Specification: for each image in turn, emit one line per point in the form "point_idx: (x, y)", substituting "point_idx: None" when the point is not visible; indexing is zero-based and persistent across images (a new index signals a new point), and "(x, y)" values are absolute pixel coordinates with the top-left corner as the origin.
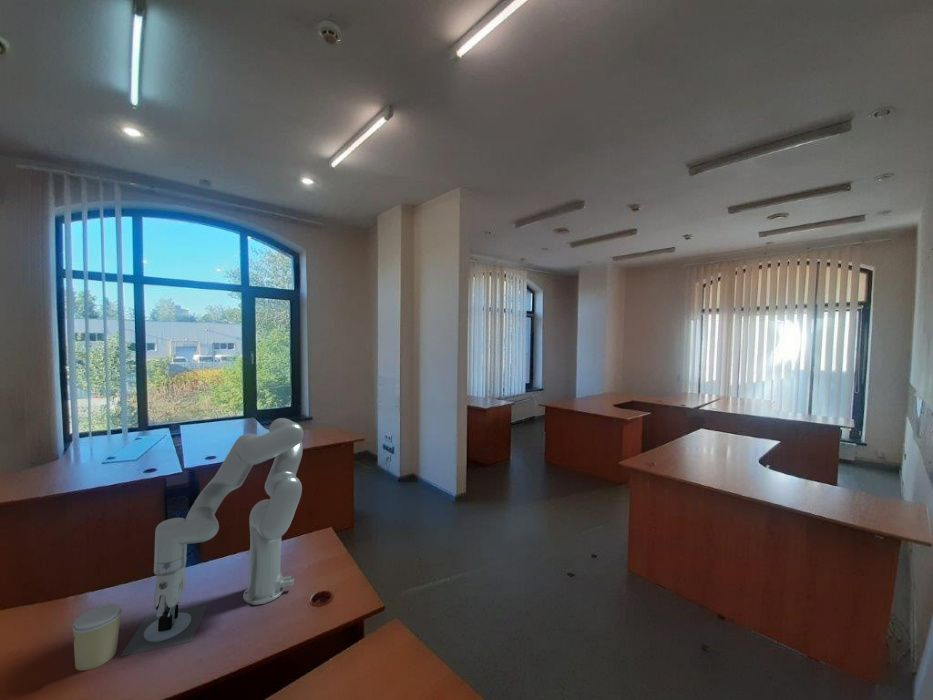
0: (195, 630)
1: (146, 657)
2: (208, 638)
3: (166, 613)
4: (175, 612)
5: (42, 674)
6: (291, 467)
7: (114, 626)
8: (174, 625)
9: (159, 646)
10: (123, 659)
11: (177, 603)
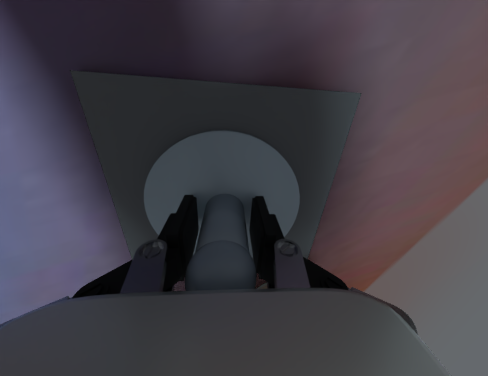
0: (289, 90)
1: (336, 216)
2: (370, 3)
3: (343, 286)
4: (190, 218)
5: None
6: None
7: None
8: (233, 189)
9: (318, 200)
10: (309, 259)
11: (165, 245)
